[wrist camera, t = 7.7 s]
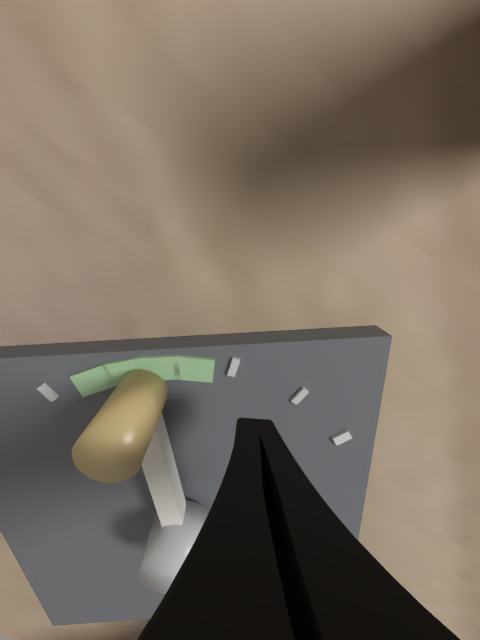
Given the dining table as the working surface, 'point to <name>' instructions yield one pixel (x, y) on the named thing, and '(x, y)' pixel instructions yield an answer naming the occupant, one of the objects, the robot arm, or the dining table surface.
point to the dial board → (186, 442)
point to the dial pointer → (158, 465)
